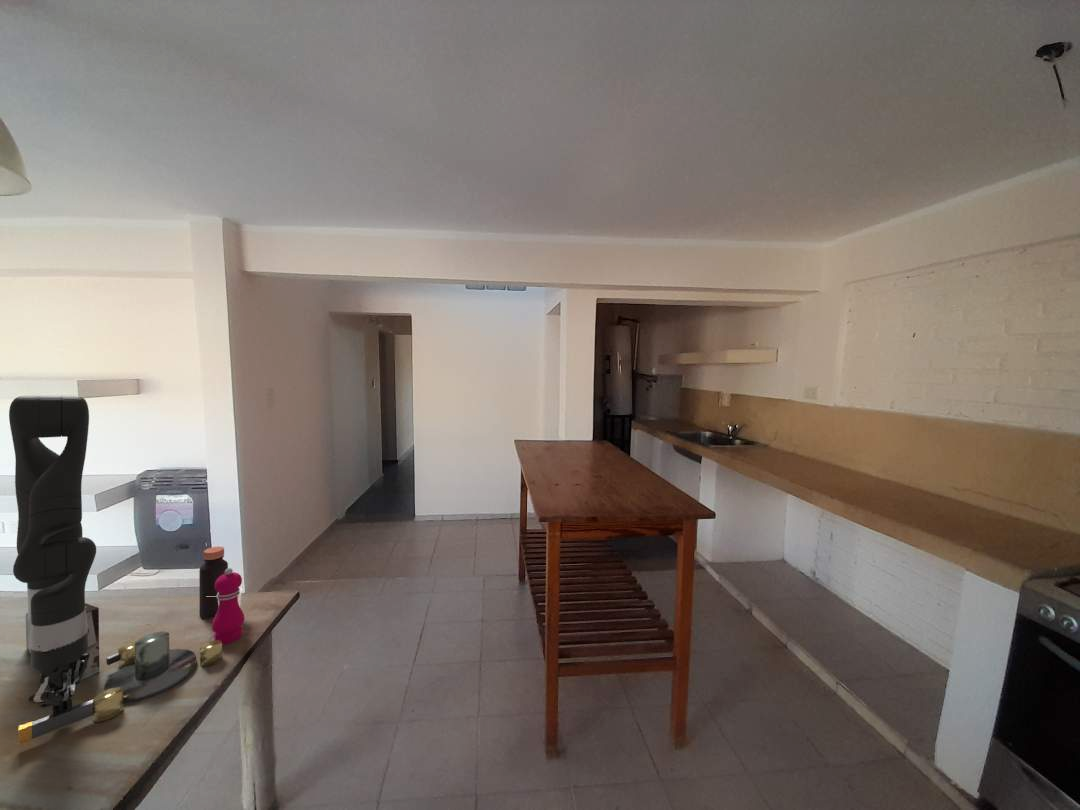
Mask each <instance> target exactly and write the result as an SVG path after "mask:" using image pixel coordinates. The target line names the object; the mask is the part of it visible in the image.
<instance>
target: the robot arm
mask: <svg viewBox="0 0 1080 810" xmlns="http://www.w3.org/2000/svg"><path fill="white" fill-rule="evenodd" d="M8 411H9V412H8V418H9V419H8V420H9V429H10V432H11V438H12V445H13V449H14V456H15V467H14V468H15V472H14V473H15V475H14V478H15V479H14V480H15V481H14V486H15V497H16V502H17V503H16V504H17V511H18V517H17V518H18V519H17V534H16V551H17V555H16V558H15V561H14V563H13V567H12V574H13V576H14V577H15V579H16V580H18V581H19V582H21V583H24V584H26V587H27V588H26V589H27V590H26V591H27V594H26V595H27V613H25V642H26V643H25V644H26V645H25V646H26V648H25V649H26V650H28V652H29V654H30V666H31V669H33V670H35V671H38V672H39V673H40V675H39V679H38V684H39V685H40V687H39V688H38V690H37V692H36V693H34V694H33V693H32V694H31V695H29V697H28V700H27V701H28V702H29V703H30V704H31V705H32V704H33V705H34V706H37V707H39V708H41V709H43V708H44V709H46V708H49V707H51V708H52V714H55V713H58V712H60V711H63V710H66V709H68V708H71V707H73V695H74V693H75V691H76V686H79V685H80V684H81V681H82V680H81V679H82V676H83V674H84V671H85V668H86V665H87V662H88V659H89V656H90V654H89V653H87V654H85V653H86V651H87V649H88V629H87V615H86V612H85V603H86V595H85V593H86V590H85V589H86V583H87V581H88V576H89V573H90V571H91V569H92V566H93V563H94V561H95V558H96V554H97V545H96V543H95V542H94V540H92V539H91V538H89V537H84V536H83V524H82V519H83V504H82V503H83V501H82V500H83V499H82V481H83V474H84V467H85V460H86V456H87V455H86V454H87V446H88V438H89V437H88V435H89V425H90V410H89V405H88V402H87V400H86V399H85V398H84V397H82V396H79V395H34V394H33V395H21V396H17V397H15V398H13V400H12V402H10V406H9V410H8ZM61 437H63V438H66V444H65V446H64V448H63V450H62V452H61V453H60V454H58V453H56V452H55V451H53V450H51V449H50V448H49V447H47V446H46V445H45V444H44V443H43V442H42V441H41V440H40V438H43V439H44V438H45V439H46V438H61Z"/></svg>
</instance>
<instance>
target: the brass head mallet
mask: <svg viewBox="0 0 1080 810" xmlns="http://www.w3.org/2000/svg"><path fill="white" fill-rule="evenodd" d="M123 710H124V703H123V689H122V688H120V687H117V688H112V689H108V690H106V691H104V690H103V691H102V692H100V693H99V694H97V695H96V696H95V697H94V698H93V699H91V700H87V701H83V702H82V703H79V704H77V705H74V706H72V707H71V708H68V709H66V710H63V711H60V712H58V713H55V714H53V713H52V714H49V715H47V716H45V717H41V718H39V719H36V720H34V721H29V722H25V723H23V724H20V725H18V729H17V731H18V733H17V734H18V735H17V736H18V737H17V738H18V741H17V742H18V746H21V745H23V744H25V743H29V742H30V741H31V742H32V741H33V740H34V739H37V738H39V737H42V736H44V735H46V734H50V733H51V732H53V731H54V732H55V731H56V730H59V729H62V728H64V727H66V726H69V725H71V724H75V723H77V722H80V721H82V720H84V719H87V718H90V717H92V716H93V717H92V719H93V721H94V722H98V723H99V722H103V721H107V720H109V719H112V718H114V717H116V716H117V715H119V714H120V713H121V712H122V711H123Z"/></svg>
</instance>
